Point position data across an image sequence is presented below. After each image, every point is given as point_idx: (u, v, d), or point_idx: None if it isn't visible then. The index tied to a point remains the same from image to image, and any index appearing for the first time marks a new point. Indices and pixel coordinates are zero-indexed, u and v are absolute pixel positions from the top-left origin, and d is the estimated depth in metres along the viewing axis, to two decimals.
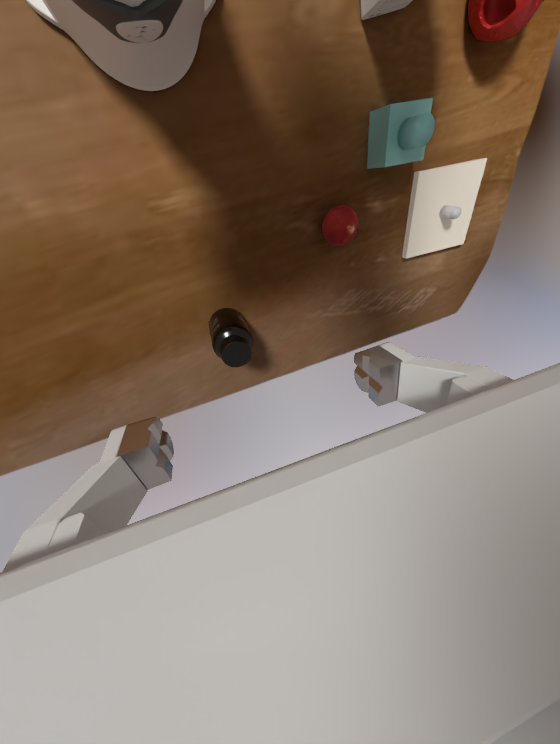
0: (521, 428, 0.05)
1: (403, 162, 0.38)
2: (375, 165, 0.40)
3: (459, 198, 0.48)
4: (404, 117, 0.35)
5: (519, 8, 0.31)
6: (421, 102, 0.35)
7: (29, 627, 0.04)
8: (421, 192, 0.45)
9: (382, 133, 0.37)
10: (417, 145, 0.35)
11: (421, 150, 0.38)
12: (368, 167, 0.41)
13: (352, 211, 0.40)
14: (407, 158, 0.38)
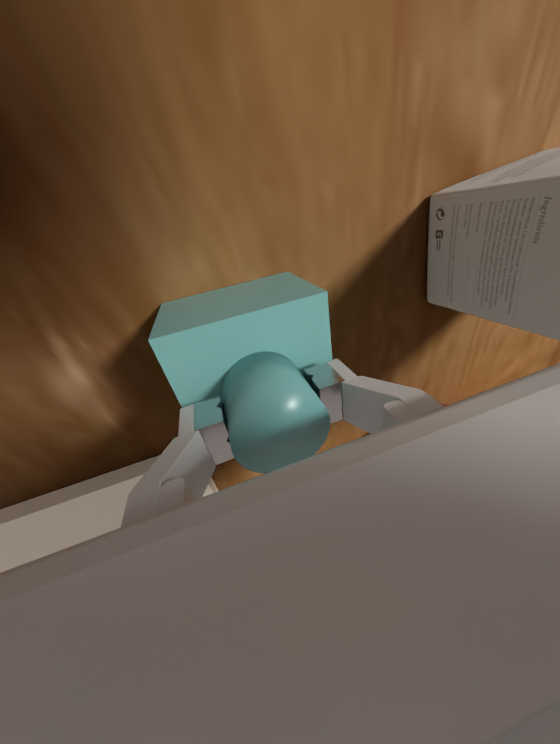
0: (521, 428, 0.05)
1: None
2: (163, 316, 0.11)
3: None
4: (298, 357, 0.11)
5: None
6: None
7: (29, 627, 0.04)
8: None
9: (250, 301, 0.10)
10: (235, 438, 0.08)
11: None
12: (163, 304, 0.12)
13: None
14: None
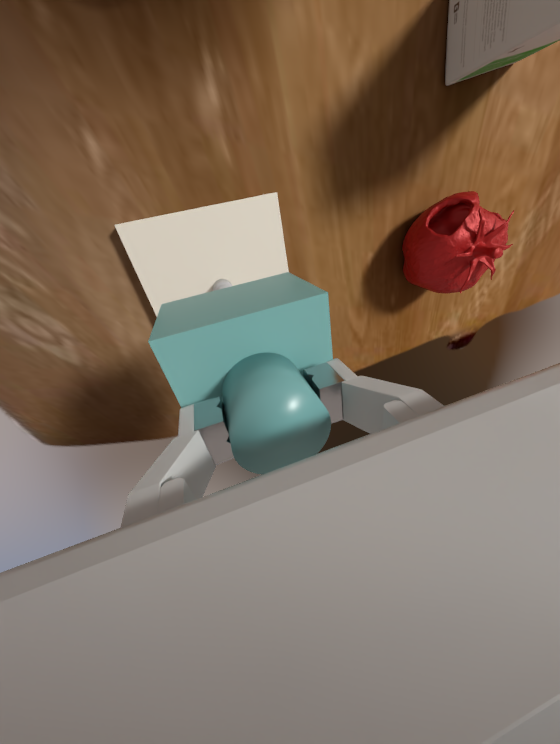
0: (521, 428, 0.05)
1: None
2: (164, 317, 0.11)
3: None
4: (298, 358, 0.11)
5: (450, 240, 0.24)
6: None
7: (29, 627, 0.04)
8: (247, 213, 0.23)
9: (251, 302, 0.10)
10: (236, 440, 0.08)
11: None
12: (163, 305, 0.12)
13: None
14: None
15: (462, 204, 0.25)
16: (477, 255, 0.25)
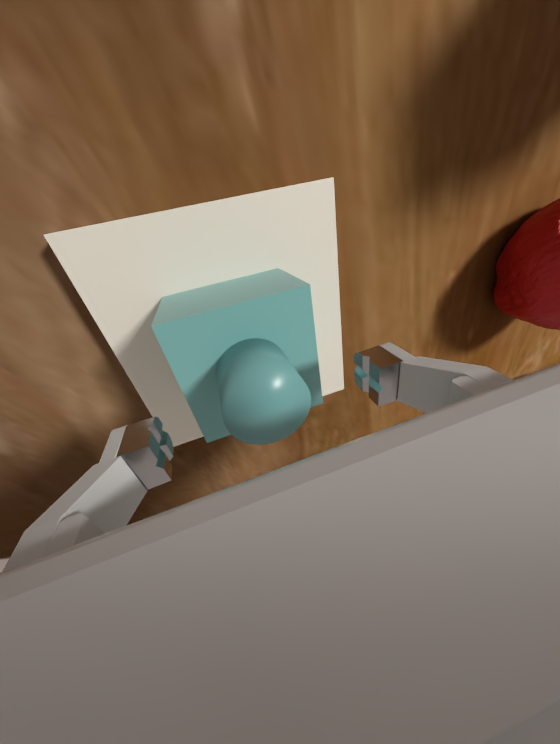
0: (521, 428, 0.05)
1: (185, 389, 0.12)
2: (164, 307, 0.12)
3: None
4: (285, 344, 0.12)
5: None
6: (314, 379, 0.13)
7: (29, 627, 0.04)
8: (282, 213, 0.14)
9: (242, 293, 0.12)
10: (227, 410, 0.09)
11: (225, 429, 0.13)
12: (164, 297, 0.14)
13: None
14: (198, 397, 0.12)
15: None
16: None
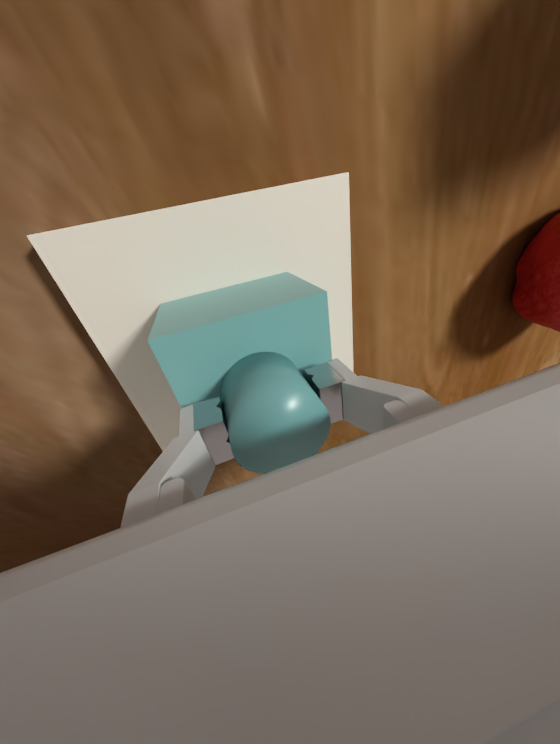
0: (521, 428, 0.05)
1: None
2: (163, 316, 0.11)
3: None
4: (298, 357, 0.11)
5: None
6: None
7: (29, 627, 0.04)
8: (292, 212, 0.12)
9: (250, 301, 0.10)
10: (235, 439, 0.08)
11: None
12: (162, 304, 0.12)
13: None
14: None
15: None
16: None
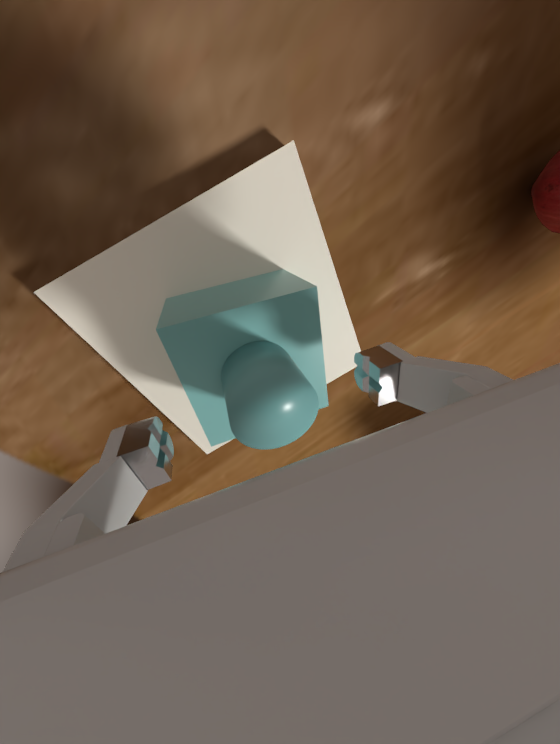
0: (521, 428, 0.05)
1: (189, 393, 0.11)
2: (168, 309, 0.12)
3: None
4: (291, 347, 0.12)
5: None
6: (320, 381, 0.13)
7: (29, 627, 0.04)
8: (340, 338, 0.18)
9: (248, 295, 0.11)
10: (233, 415, 0.09)
11: (229, 432, 0.13)
12: (168, 299, 0.13)
13: None
14: (203, 401, 0.12)
15: None
16: None
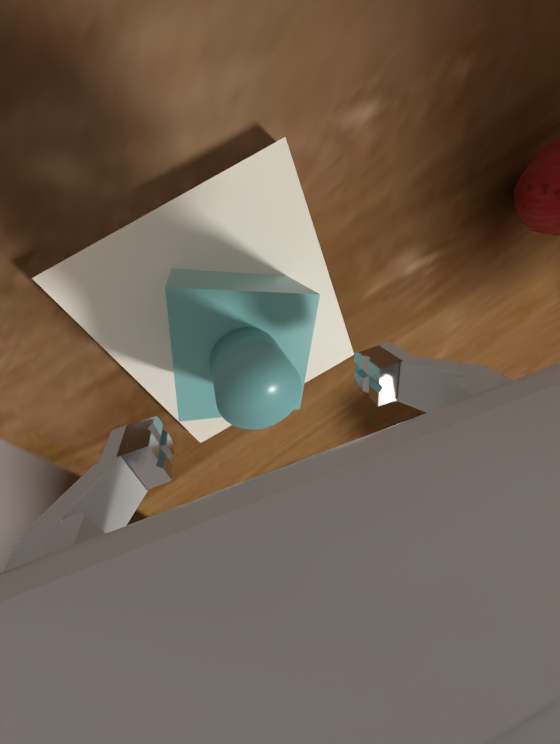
0: (521, 428, 0.05)
1: None
2: None
3: None
4: (227, 325, 0.11)
5: None
6: (283, 299, 0.12)
7: (29, 627, 0.04)
8: (330, 330, 0.19)
9: None
10: (244, 425, 0.10)
11: None
12: None
13: None
14: None
15: None
16: None
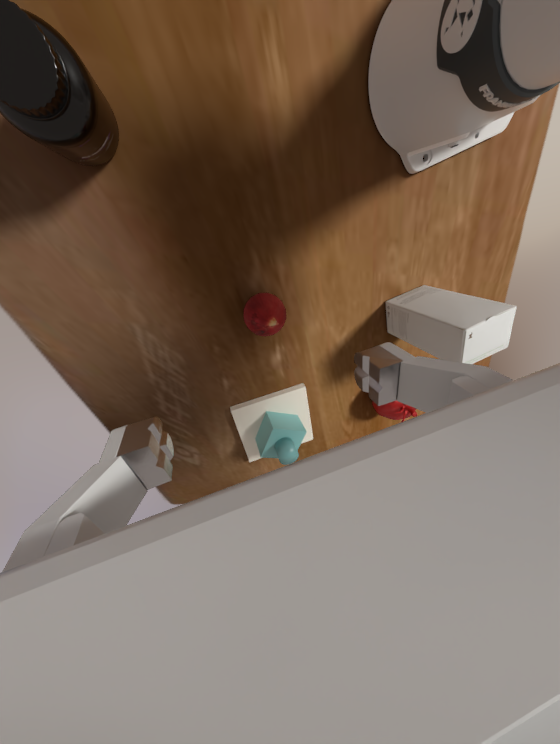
0: (521, 428, 0.05)
1: (298, 446, 0.47)
2: None
3: None
4: (273, 447, 0.45)
5: (392, 404, 0.48)
6: (271, 436, 0.44)
7: (29, 627, 0.04)
8: (290, 396, 0.47)
9: None
10: (295, 460, 0.44)
11: (300, 433, 0.46)
12: None
13: (284, 322, 0.35)
14: (298, 443, 0.47)
15: None
16: (406, 410, 0.49)
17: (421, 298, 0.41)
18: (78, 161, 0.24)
